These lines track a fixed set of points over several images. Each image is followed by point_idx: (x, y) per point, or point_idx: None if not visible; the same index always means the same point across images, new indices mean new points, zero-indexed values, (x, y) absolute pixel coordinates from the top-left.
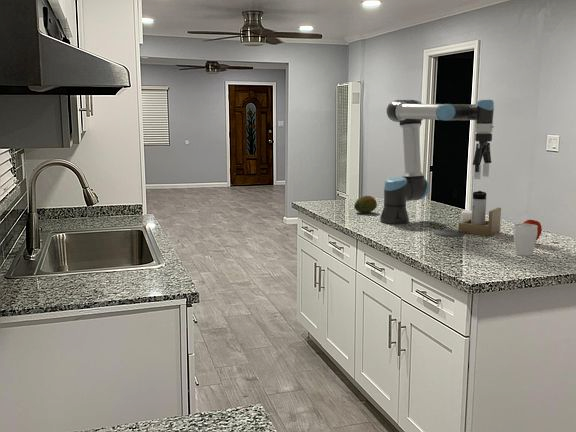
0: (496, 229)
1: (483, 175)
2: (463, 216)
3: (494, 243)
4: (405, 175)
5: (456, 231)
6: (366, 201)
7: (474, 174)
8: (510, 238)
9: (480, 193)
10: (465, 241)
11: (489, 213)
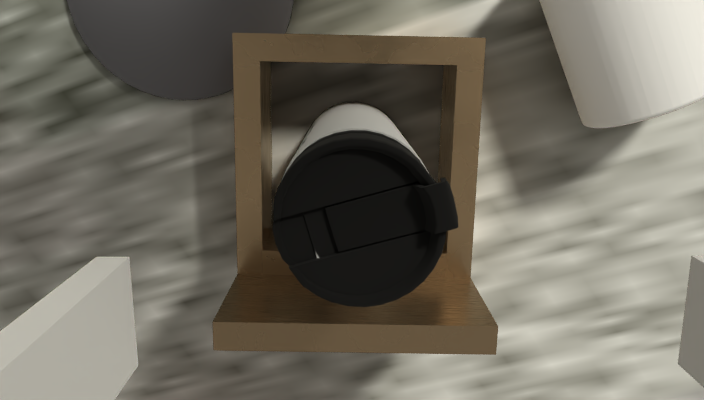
0: None
1: (698, 280)
2: None
3: None
4: None
5: (266, 12)
6: None
7: (53, 297)
8: (281, 381)
9: (380, 228)
10: (3, 173)
11: (217, 318)
